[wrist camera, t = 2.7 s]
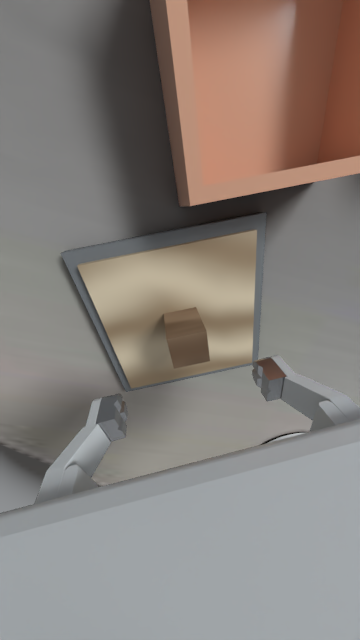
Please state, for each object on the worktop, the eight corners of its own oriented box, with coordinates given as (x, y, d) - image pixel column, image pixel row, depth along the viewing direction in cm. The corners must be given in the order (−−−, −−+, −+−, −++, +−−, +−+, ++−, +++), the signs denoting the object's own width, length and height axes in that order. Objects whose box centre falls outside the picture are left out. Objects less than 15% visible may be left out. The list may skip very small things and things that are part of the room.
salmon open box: (317, 179, 15) (382, 168, 11) (179, 206, 15) (190, 206, 11) (361, -93, 9) (535, -343, 5) (140, -58, 9) (131, -287, 5)
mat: (254, 357, 24) (257, 363, 23) (126, 385, 24) (125, 391, 23) (260, 212, 16) (266, 212, 15) (65, 250, 15) (60, 253, 15)
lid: (249, 359, 23) (270, 391, 19) (131, 384, 22) (127, 422, 18) (253, 229, 15) (288, 236, 11) (79, 263, 15) (53, 283, 11)
